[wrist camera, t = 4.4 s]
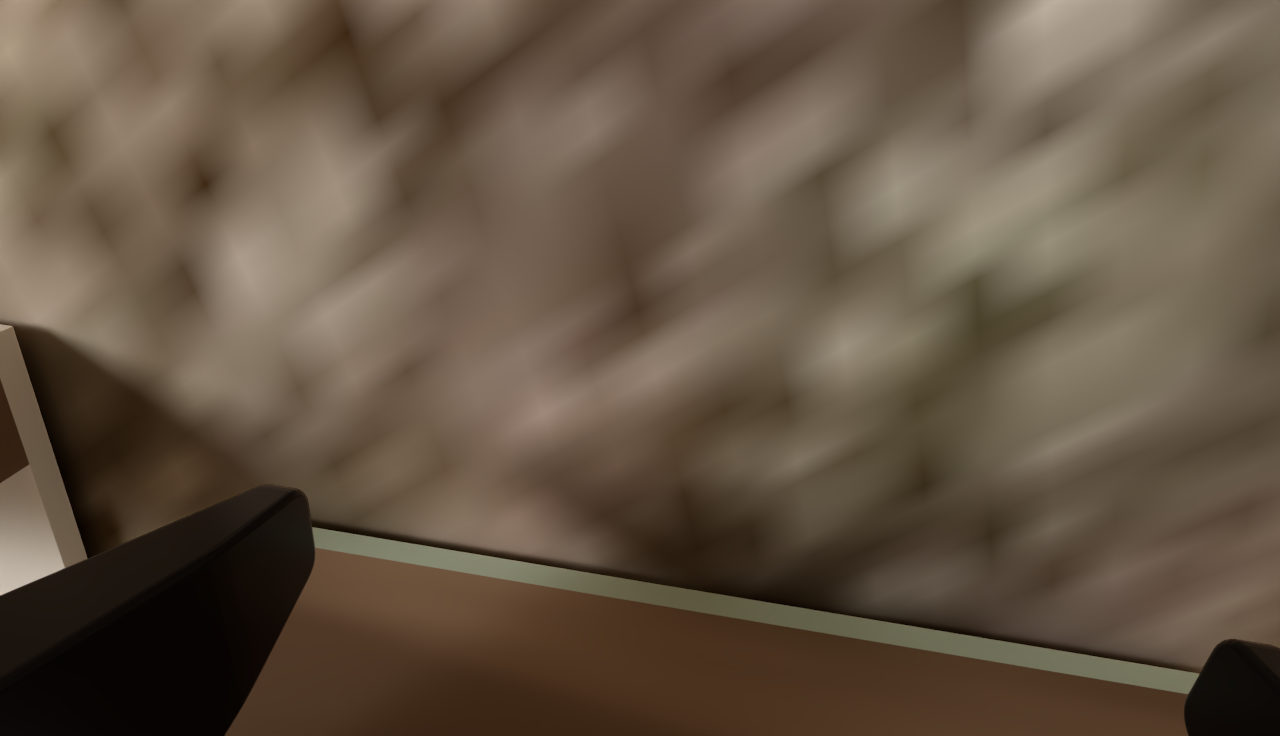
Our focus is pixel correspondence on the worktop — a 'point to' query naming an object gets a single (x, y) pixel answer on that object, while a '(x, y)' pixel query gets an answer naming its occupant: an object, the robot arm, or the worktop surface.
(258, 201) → the worktop surface
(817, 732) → the wooden handled dough scraper
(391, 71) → the worktop surface
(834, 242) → the worktop surface
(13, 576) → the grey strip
